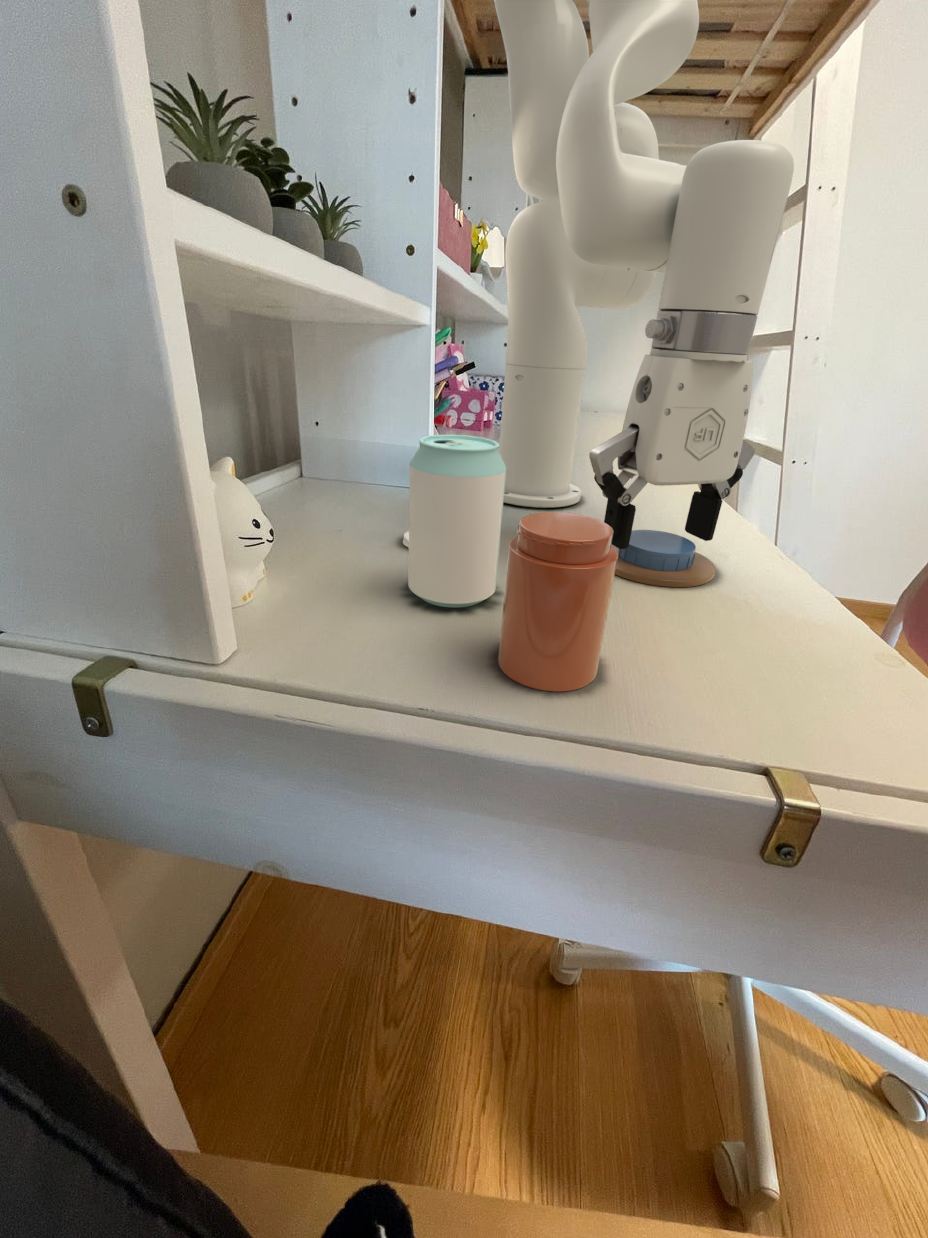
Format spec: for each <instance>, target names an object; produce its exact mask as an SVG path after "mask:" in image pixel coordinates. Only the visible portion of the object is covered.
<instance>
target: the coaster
mask: <svg viewBox="0 0 928 1238" xmlns="http://www.w3.org/2000/svg"><path fill="white" fill-rule="evenodd" d="M611 546H612V547H613V548H614V549H615V550H616V551H617V553H618V560H617V566H616V571H615V576H617V577H620V578H623V579H626V580H630V581H633V582H636V583H640V584H645V585H651V586H657V587H664V588H665V587H667V588H691V587H697V586H702V585H706V584H707V583H710V582H711V581H712V580H713V579H714V577H715V574H716V572H717V571H716V570H717V569H716V568H717V567H716V566H715V563H713V561H711V559H709V558H708V557H706V556H705V555H703V554H701V553H699V552H696V551H695V557H694V561H693V565H691V566H690V567H689V568H687V569H684V570H679V571H660V570H653V569H647V568H643V567H640V566H636V565H634V564H631V563H629V562H627V561H625V560H624V559H622V558H621V557H620V555H619V548H617V547H615V546H614V545H612V544H611Z"/></svg>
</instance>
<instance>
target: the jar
mask: <svg viewBox="0 0 928 1238" xmlns="http://www.w3.org/2000/svg"><path fill="white" fill-rule="evenodd" d="M516 532H517V535H516V536H514V537H512V539H511V540H509V543H508V550H507V562H506V572H505V582H504V593H503V603H502V604H503V606H502V615H501V625H500V637H499V645H498V657H497V661H498V665H499V668H500V669H501V671H502V672H503V674H505V675H506V676H507V677H508V678H509V679H511V680H512V681H514V682H516V683H518V684H520V685H522V686H526V687H527V688H531V689H535V690H539V691H540V690H541V691H544V692H545V691H546V692H569V691H570V692H571V691H575V690H580V689H582V688H584V687H587V686H588V685H590V684H591V683H592V682H593V681H594V680H595V679H596V676H597V675H598V668H599V663H600V658H601V653H602V646H603V642H604V641H603V640H604V635H605V630H606V626H607V625H606V624H607V619H608V615H609V614H608V613H609V609H610V603H611V597H612V592H613V586H614V581H615V577H616V575H615V571H616V566H617V560H618V553H617V551H616V550H615V549H614V548H613V547H612V546H611V544H612V538H613V529H612V527H611V526H609V525H608V524H606V523H605V522H604V521H602V520H600V519H599V518H598V519H597V518H594V517H591V516H587V515H583V514H577V513H573V512H572V513H571V512H563V511H561V512H560V511H547V512H545V511H544V512H543V511H542V512H536V513H531V514H527V515H525V516H523V517H522V518H521V519H520V521H519V524H518V526H517V528H516Z"/></svg>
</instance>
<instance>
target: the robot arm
mask: <svg viewBox="0 0 928 1238" xmlns="http://www.w3.org/2000/svg"><path fill="white" fill-rule="evenodd" d="M586 1H587V3H586V4H587V12H588V20H589V30H590V39H591V40H590V41H591V46H592V47H591V48H592V53H591V55H590V53H589V52H590V51H589V49H590V48H589V42H588V37H587V33H586V29H585V26H584V23H583V19H582V18H581V15H580V13H579V10H578V7H577V5H576V4H575V2H574V0H493V3H494V7H495V12H496V16H497V20H498V25H499V29H500V32H501V37H502V41H503V46H504V51H505V55H506V65H507V75H508V77H507V78H508V81H507V82H508V93H509V94H508V97H509V111H510V127H511V129H510V130H511V144H512V145H511V146H512V156H513V157H512V158H513V166H514V173H515V179H516V181H517V184H518V186H519V188H520V189H521V190H522V192H524V193H525V194H526V195H528V196H530V197H532V198H535V199H538V200H542V201H539V202H536V203H533V204H530V205H528V206H526V207H525V208H524V209H522V210H521V211H520V212H518V213H517V215H516V216H515V218H514V219H513V221H512V223H511V225H510V227H509V229H508V233H507V236H506V241H505V254H504V256H505V258H504V259H505V274H506V287H507V288H506V289H507V314H508V315H507V339H506V341H507V342H506V352H505V353H506V354H505V370H504V381H503V382H504V383H503V393H502V394H503V395H502V406H501V420H500V430H499V431H500V432H499V442H498V444H499V449H498V452H499V454H500V456H501V458H502V460H503V462H504V464H505V466H506V477H505V489H504V500H503V504H508V505H513V506H519V507H520V506H521V507H526V508H527V507H528V508H540V509H541V508H542V509H543V508H545V509H547V508H549V509H550V508H551V509H552V508H553V509H554V508H564V507H570V506H573V505H576V504H577V503H579V502H580V501H581V497H582V491H581V489H580V488H579V487H578V486H577V485H574V484H573V483H571V481H572V475H573V474H572V473H573V467H574V466H573V465H574V458H575V452H576V445H577V444H576V443H577V436H578V430H579V423H580V422H579V421H580V414H581V409H582V408H581V407H582V400H583V393H584V386H585V378H586V371H587V362H588V354H589V353H588V339H587V335H586V331H585V328H584V326H583V323H582V320H581V318H580V315H579V312H578V309H577V308H578V307H585V308H586V307H587V308H599V309H610V310H611V309H612V310H623V309H628V308H632V307H634V306H637V305H638V304H639V303H641V302H642V301H643V300H645V298H646V296H647V295H648V294H649V292H650V291H651V289H652V287H653V285H654V282H655V280H656V278H657V274H658V273H664V276H663V281H662V286H661V287H662V288H661V292H660V299H659V302H658V303H659V304H658V311H657V313H656V318H655V319H654V318H653V319H649V320H648V321H647V323H646V324H645V329H644V333H645V336H646V338H648V339H652V341H651V346H650V352H649V354H644V356H643V359H642V362H641V364H640V367H639V369H638V372H637V375H636V378H635V380H634V384H633V387H632V390H631V393H630V397H629V401H628V404H627V408H626V411H625V415H624V416H625V417H624V419H623V424H622V428H621V432H619V433H618V434H616V435H614V436H612V437H610V438H609V439H607V440H606V441H603V442H602V443H600V444H599V445H597V446H596V447H594V448H592V449H590V451H589V454H588V456H589V460H590V465H591V468H592V471H593V473H594V477H593V478H594V481H595V483H596V484H597V486H598V488H600V490H601V492H602V496H603V497H604V498H606V499H607V501H606V502H607V503H606V507H605V514H604V520H603V522H605V523H606V524H608V525H609V526H611V527H612V529H613V538H612V545H614V546H615V547H617V548H619V549H626V548H627V547H628V546H629V542H630V537H631V532H632V531H633V526H634V521H635V516H636V511H637V508H636V505H634V504H632V502H633V501H634V499H635V498H636V497H637V496H638V495H639V494H640V492H641V491H642V490H643V489H644V488H645V487H646V486H647V484H650V485H653V486H659V487H661V486H685V485H697V486H698V488H699V490H700V491H698V490H697V491H696V490H695V491H693V494H692V495H691V501H690V504H689V509H688V512H687V513H688V514H687V518H686V522H685V525H684V532H686V533H687V534H689V535H692V536H694V537H696V538H698V539H700V540H702V541H704V542H708V541H712V540H713V538H714V534H715V531H716V528H717V524H718V520H719V516H720V512H721V508H722V505H723V500H727V499H728V498H729V497H730V495H731V492H732V490H731V489H732V488H733V487H735V485H736V484H737V483H738V482H739V481H740V480H741V478H742V477H743V474H744V471H743V470H745V469H746V468H747V467H748V465H749V463H750V462H751V460H752V459H753V457H754V456H755V454H756V449H755V447H753V446H752V445H751V444H750V443H749V442H748V441H746V440H745V435H746V428H747V424H748V419H749V418H748V417H749V413H750V405H751V398H752V390H753V375H754V374H753V373H754V371H753V369H754V368H753V367H754V362H753V361H750V360H748V356H749V355H748V354H749V352H750V348H751V344H752V340H753V337H754V332H755V329H756V324H757V321H758V315H759V311H760V308H761V304H762V300H763V296H764V292H765V288H766V285H767V281H768V276H769V274H770V273H769V272H770V269H771V264H772V261H773V256H774V253H775V248H776V245H777V241H778V237H779V233H780V229H781V225H782V221H783V217H784V214H785V209H786V205H787V201H788V199H789V194H790V190H791V185H792V182H793V176H794V172H795V171H794V169H795V168H794V167H795V163H794V158H793V154H792V153H791V152H790V151H789V149H787V147H785V146H784V145H782V144H778V143H776V142H772V141H769V140H761V139H736V140H727V141H722V142H717V143H714V144H711V145H707V146H706V147H703V148H701V149H699V150H698V151H697V152H696V153H695V154H694V155H692V157H691V158H690V159H689V160H688V162H687V164H685V165H684V164H680V163H678V162H672V161H668V160H663V159H660V153H659V142H658V137H657V132H656V130H655V127H654V124H653V123H652V121H651V118H650V117H649V116H648V115H647V114H646V112H645V111H643V110H642V109H641V108H639V107H638V106H635V105H633V104H631V103H628V102H627V101H630V100H632V99H635V98H638V97H641V96H643V95H645V94H647V93H648V92H650V91H652V90H654V89H656V88H658V87H659V86H661V85H662V84H664V83H665V82H666V81H667V80H669V79H670V78H671V77H672V76H674V74H676V72H677V71H679V69H680V68H681V66H683V64H684V63H685V62H686V60H687V59H688V57H689V56H690V54H691V51H692V50H693V48H694V45H695V43H696V40H697V36H698V32H699V26H700V12H699V11H700V9H699V4H698V0H586ZM615 459H617V468H618V470H617V471H616V473H614V465H613V463H614V461H615Z"/></svg>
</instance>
